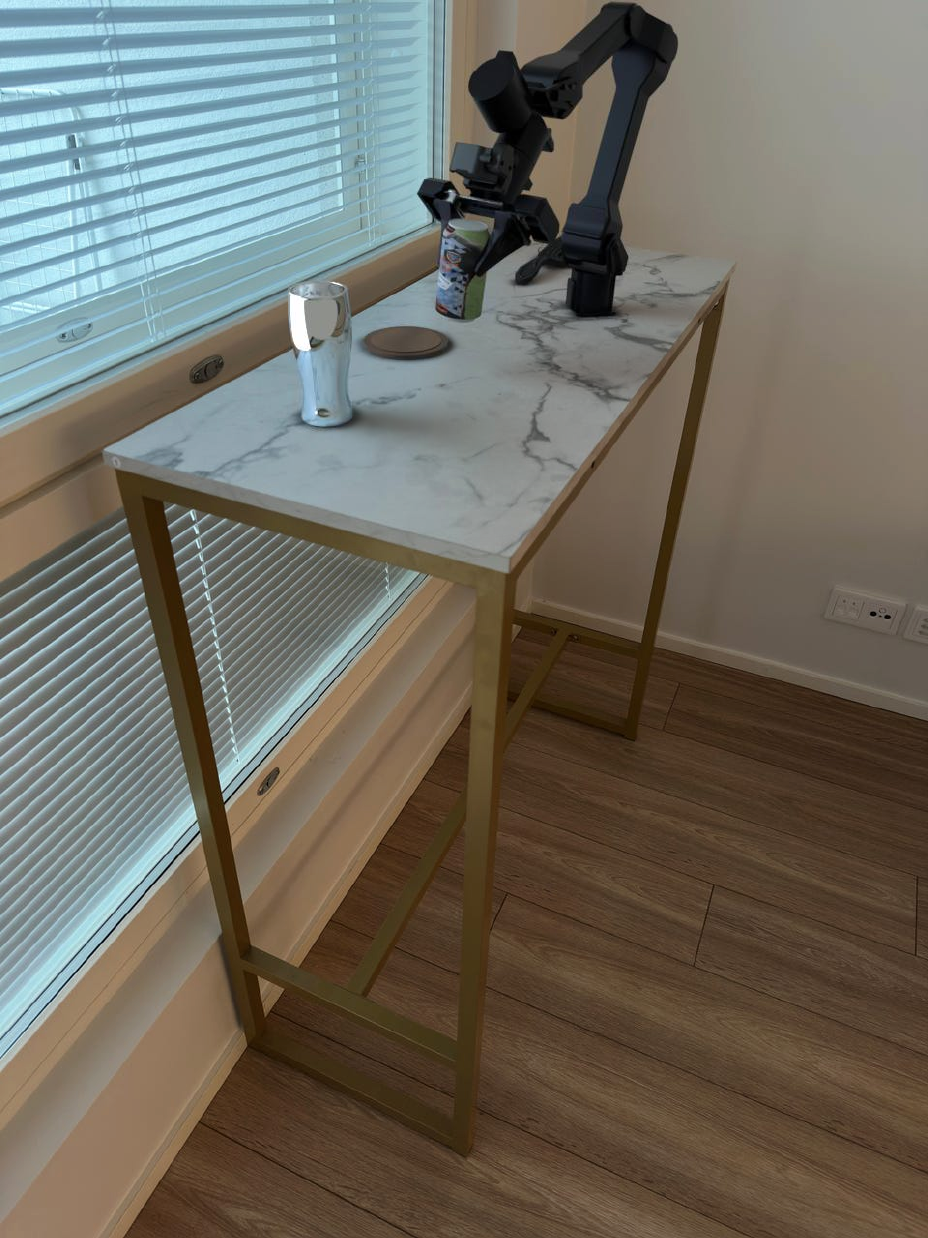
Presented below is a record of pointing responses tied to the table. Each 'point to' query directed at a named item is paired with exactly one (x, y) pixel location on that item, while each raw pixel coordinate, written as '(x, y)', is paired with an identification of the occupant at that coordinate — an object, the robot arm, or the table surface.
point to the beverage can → (461, 271)
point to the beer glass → (322, 349)
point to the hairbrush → (540, 262)
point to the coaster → (405, 342)
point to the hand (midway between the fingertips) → (458, 270)
